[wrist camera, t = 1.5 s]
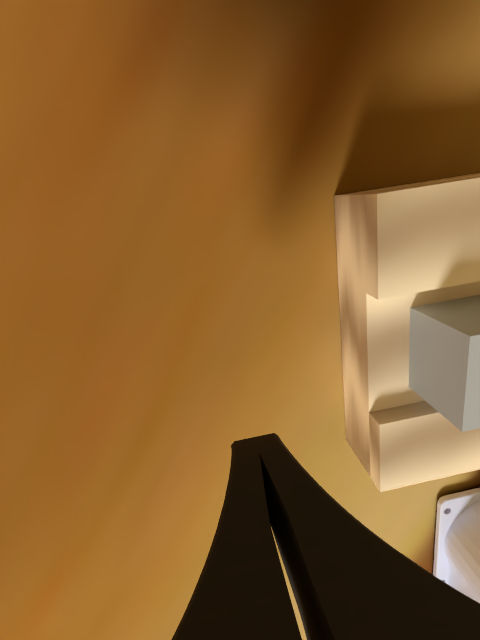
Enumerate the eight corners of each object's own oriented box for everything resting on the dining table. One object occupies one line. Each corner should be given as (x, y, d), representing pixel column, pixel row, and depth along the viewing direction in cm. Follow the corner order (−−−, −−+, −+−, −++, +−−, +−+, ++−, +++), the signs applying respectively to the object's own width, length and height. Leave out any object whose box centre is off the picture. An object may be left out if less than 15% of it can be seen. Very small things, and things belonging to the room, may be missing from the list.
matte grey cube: (485, 370, 17) (557, 411, 14) (408, 386, 17) (461, 431, 13) (494, 291, 16) (575, 315, 12) (410, 307, 15) (469, 336, 12)
